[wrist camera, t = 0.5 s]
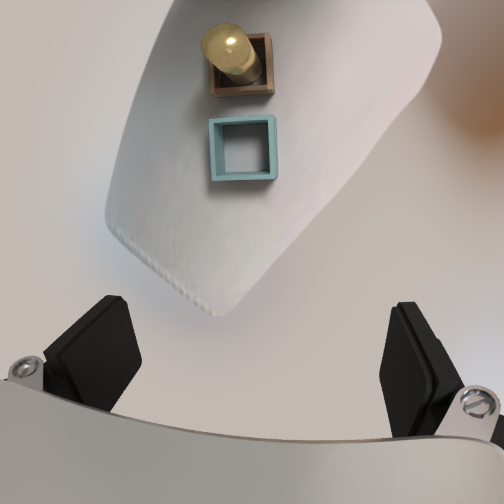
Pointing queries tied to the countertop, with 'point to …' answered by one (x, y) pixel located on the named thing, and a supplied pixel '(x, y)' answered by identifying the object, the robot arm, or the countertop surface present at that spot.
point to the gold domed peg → (231, 53)
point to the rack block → (218, 148)
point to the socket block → (246, 90)
